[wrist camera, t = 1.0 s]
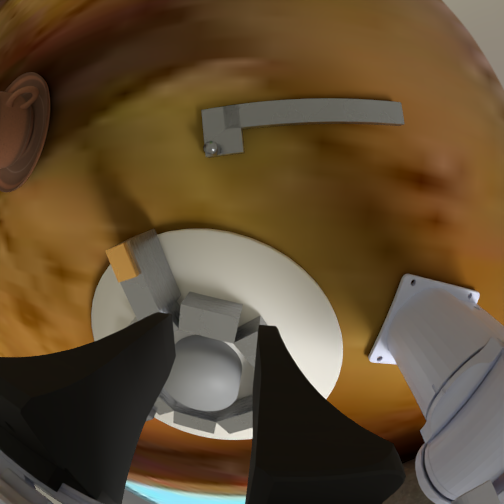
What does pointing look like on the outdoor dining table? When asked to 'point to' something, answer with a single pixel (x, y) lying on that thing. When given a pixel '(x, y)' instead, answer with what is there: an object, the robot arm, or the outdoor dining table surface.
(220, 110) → the pin spanner
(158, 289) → the grey block crown
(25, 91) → the cup and saucer
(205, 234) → the white round disc
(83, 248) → the outdoor dining table surface
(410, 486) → the clay pot
